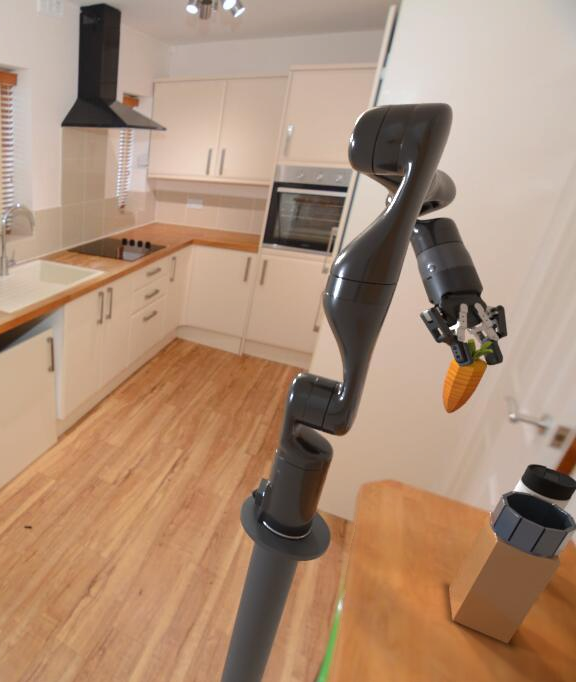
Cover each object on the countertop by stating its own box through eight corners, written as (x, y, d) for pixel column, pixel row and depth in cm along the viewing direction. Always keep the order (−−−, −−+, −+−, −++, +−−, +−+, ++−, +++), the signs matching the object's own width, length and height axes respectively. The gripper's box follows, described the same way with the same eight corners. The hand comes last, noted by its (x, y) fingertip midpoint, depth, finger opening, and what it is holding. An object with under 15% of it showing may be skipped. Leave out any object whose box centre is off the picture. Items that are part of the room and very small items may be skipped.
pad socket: (449, 621, 74) (508, 517, 64) (445, 584, 80) (498, 484, 70) (511, 648, 70) (584, 541, 60) (502, 607, 76) (567, 504, 66)
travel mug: (479, 555, 85) (525, 471, 77) (487, 536, 89) (532, 455, 80) (524, 578, 81) (578, 492, 72) (530, 557, 85) (582, 473, 76)
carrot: (461, 408, 84) (493, 335, 78) (469, 423, 80) (503, 347, 74) (428, 402, 86) (457, 330, 79) (435, 417, 82) (465, 342, 75)
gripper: (466, 282, 86) (499, 369, 80) (394, 284, 85) (423, 372, 80) (504, 262, 79) (544, 356, 73) (426, 264, 78) (460, 359, 73)
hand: (480, 364), depth 77 cm, fingers closed on carrot, 4 cm apart
